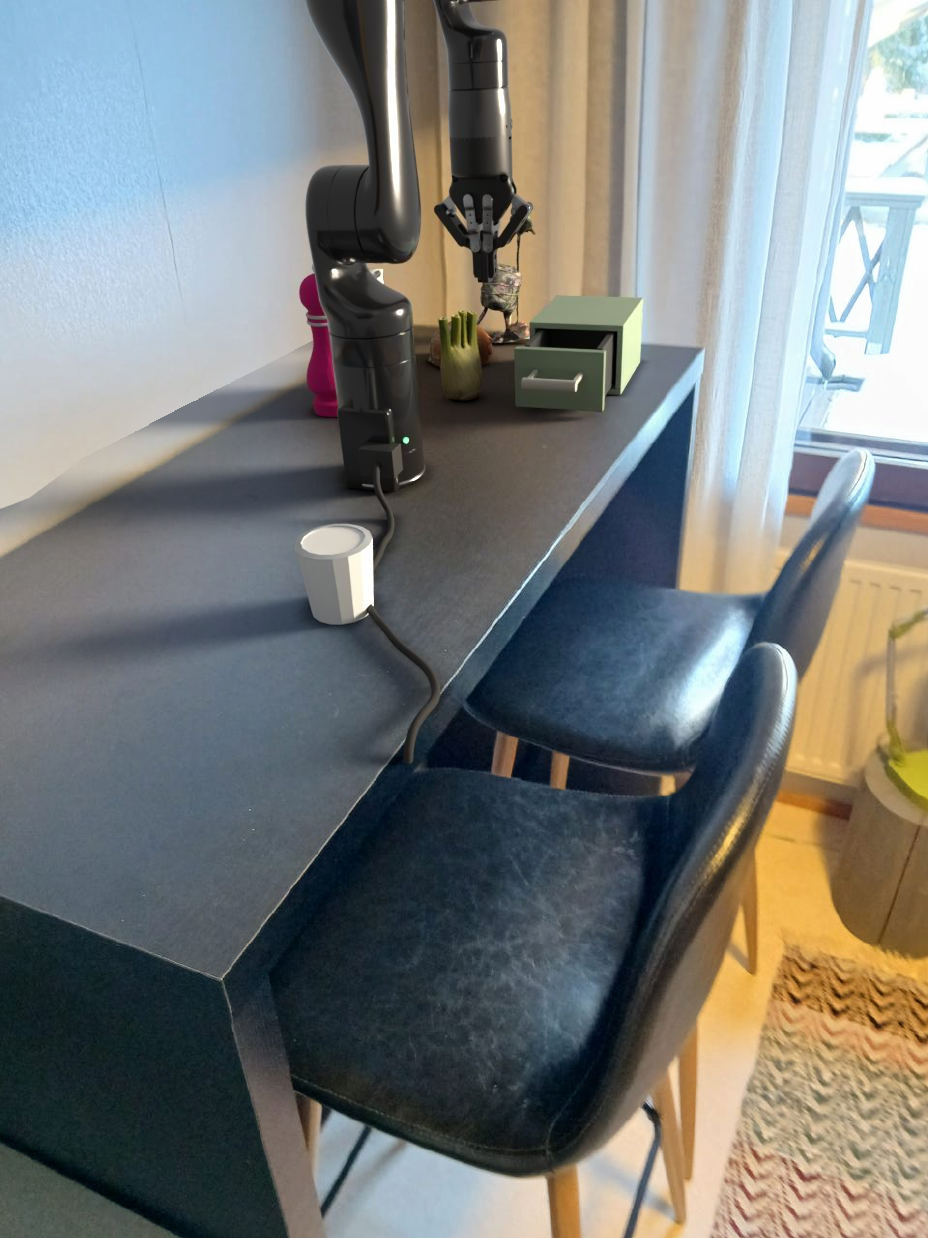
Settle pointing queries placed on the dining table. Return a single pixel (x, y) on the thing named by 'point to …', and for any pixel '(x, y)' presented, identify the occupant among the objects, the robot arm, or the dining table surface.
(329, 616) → the shot glass
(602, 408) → the green pull-out drawer
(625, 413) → the dining table surface
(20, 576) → the dining table surface
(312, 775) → the dining table surface
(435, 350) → the bread roll
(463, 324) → the fennel bulb
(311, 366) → the pepper mill
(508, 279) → the grey irregular tall piece
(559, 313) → the green drawer cabinet
